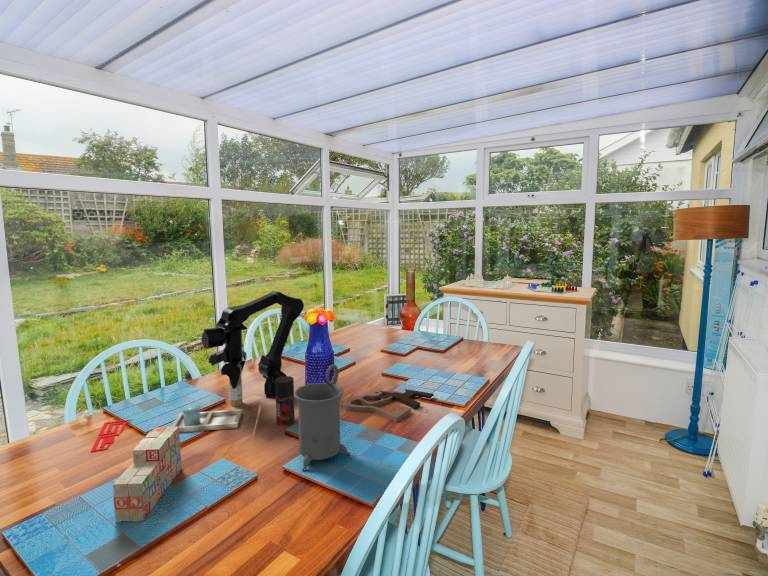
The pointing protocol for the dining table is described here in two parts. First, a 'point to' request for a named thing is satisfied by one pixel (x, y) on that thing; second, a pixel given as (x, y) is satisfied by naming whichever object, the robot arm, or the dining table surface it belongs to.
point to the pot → (191, 414)
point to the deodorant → (284, 400)
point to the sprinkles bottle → (236, 393)
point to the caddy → (211, 421)
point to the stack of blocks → (147, 474)
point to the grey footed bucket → (319, 419)
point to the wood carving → (385, 402)
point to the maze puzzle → (108, 440)
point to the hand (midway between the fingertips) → (235, 385)
